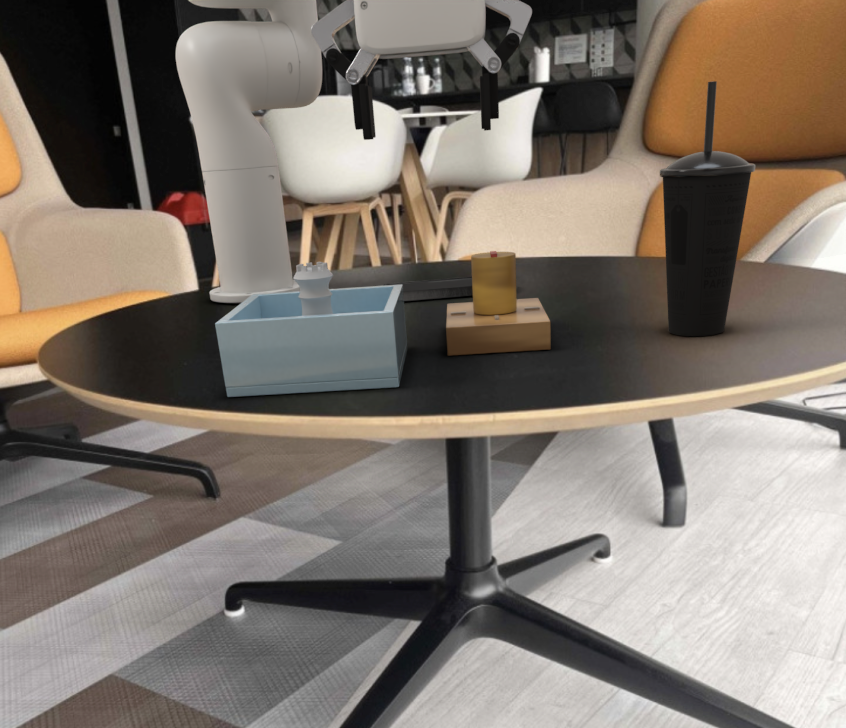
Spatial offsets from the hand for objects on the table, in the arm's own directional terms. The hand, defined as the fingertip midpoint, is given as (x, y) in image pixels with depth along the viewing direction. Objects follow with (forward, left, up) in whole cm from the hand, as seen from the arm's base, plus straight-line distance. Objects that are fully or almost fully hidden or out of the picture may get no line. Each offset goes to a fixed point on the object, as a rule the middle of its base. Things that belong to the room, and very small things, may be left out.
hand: (427, 134), depth 72 cm
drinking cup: (-1, +23, -18) cm, 29 cm away
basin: (+6, -10, -18) cm, 21 cm away
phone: (-31, 0, -18) cm, 36 cm away
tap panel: (-3, +5, -18) cm, 19 cm away
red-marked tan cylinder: (-3, +5, -15) cm, 16 cm away
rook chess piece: (+6, -10, -17) cm, 21 cm away
